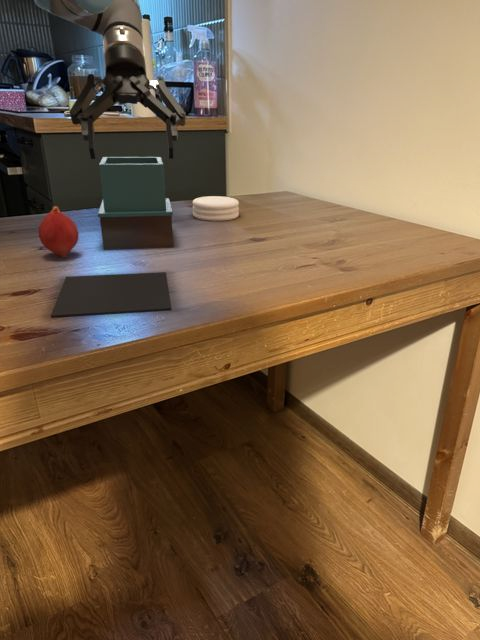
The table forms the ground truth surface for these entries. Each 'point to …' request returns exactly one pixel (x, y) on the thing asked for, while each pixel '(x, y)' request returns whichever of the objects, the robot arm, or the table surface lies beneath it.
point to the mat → (112, 294)
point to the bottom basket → (136, 232)
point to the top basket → (133, 187)
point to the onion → (58, 233)
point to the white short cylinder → (215, 208)
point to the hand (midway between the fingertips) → (132, 154)
